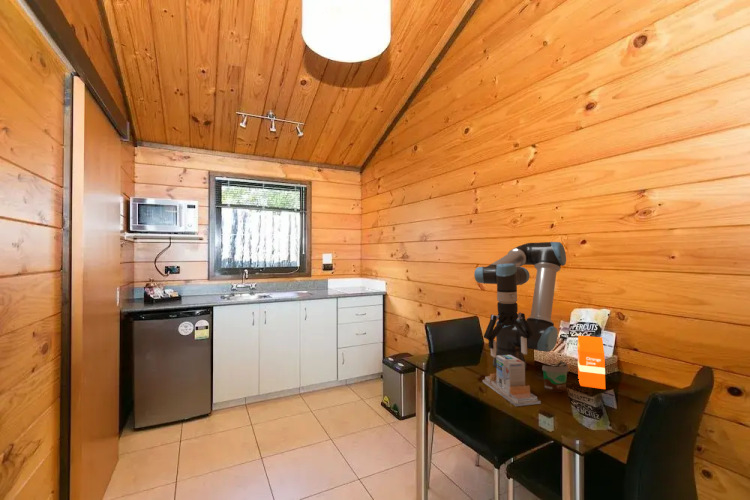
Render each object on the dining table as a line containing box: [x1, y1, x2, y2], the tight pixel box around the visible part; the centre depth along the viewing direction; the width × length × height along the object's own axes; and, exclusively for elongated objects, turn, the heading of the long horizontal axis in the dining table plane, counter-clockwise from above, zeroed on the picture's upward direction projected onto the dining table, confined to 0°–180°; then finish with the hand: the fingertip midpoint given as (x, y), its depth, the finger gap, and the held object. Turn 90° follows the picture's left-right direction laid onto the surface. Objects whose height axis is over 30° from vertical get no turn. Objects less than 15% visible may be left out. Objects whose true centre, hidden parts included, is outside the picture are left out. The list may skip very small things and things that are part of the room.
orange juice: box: [577, 335, 606, 390], centre depth 140 cm, size 8×9×20 cm
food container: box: [541, 360, 570, 393], centre depth 134 cm, size 12×6×10 cm, turn 117°
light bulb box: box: [495, 355, 526, 390], centre depth 133 cm, size 11×7×11 cm, turn 8°
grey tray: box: [482, 372, 542, 407], centre depth 132 cm, size 10×24×5 cm, turn 11°
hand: (509, 355), depth 133 cm, fingers open, 13 cm apart
